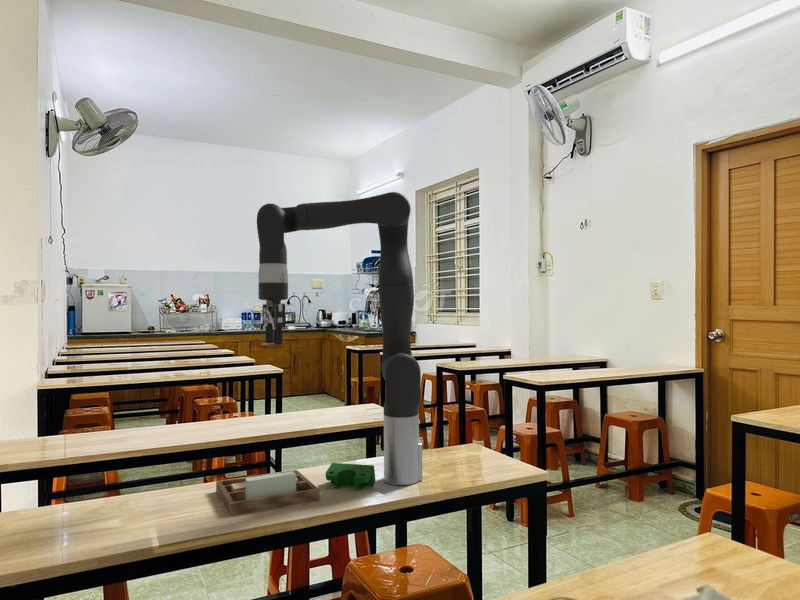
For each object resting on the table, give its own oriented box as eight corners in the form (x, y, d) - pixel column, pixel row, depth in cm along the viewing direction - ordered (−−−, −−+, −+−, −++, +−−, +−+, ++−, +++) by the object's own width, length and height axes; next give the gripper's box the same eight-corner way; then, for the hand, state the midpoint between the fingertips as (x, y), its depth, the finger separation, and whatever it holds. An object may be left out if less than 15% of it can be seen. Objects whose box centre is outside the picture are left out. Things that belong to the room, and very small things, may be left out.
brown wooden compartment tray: (296, 483, 144) (296, 469, 144) (319, 504, 128) (319, 489, 128) (216, 495, 135) (216, 481, 135) (230, 520, 119) (229, 504, 119)
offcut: (256, 492, 134) (256, 480, 134) (260, 497, 130) (260, 484, 130) (231, 496, 131) (231, 484, 131) (234, 502, 128) (234, 488, 128)
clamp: (334, 508, 138) (317, 477, 137) (342, 495, 144) (326, 465, 143) (376, 494, 134) (359, 462, 133) (382, 481, 140) (366, 450, 139)
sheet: (245, 505, 125) (293, 496, 131) (248, 508, 123) (296, 499, 129) (245, 478, 126) (292, 471, 131) (247, 481, 123) (296, 473, 129)
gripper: (295, 280, 141) (295, 344, 141) (280, 283, 153) (280, 342, 153) (265, 280, 137) (265, 346, 137) (252, 282, 150) (253, 343, 150)
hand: (273, 343), depth 145 cm, fingers open, 8 cm apart
